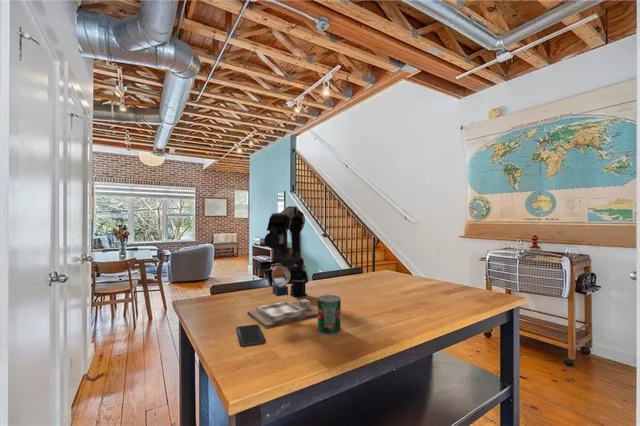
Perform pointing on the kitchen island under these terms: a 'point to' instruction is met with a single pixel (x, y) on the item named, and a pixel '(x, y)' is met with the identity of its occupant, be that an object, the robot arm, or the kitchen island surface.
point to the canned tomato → (329, 314)
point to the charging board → (283, 313)
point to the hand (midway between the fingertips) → (280, 284)
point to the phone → (250, 335)
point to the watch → (281, 288)
